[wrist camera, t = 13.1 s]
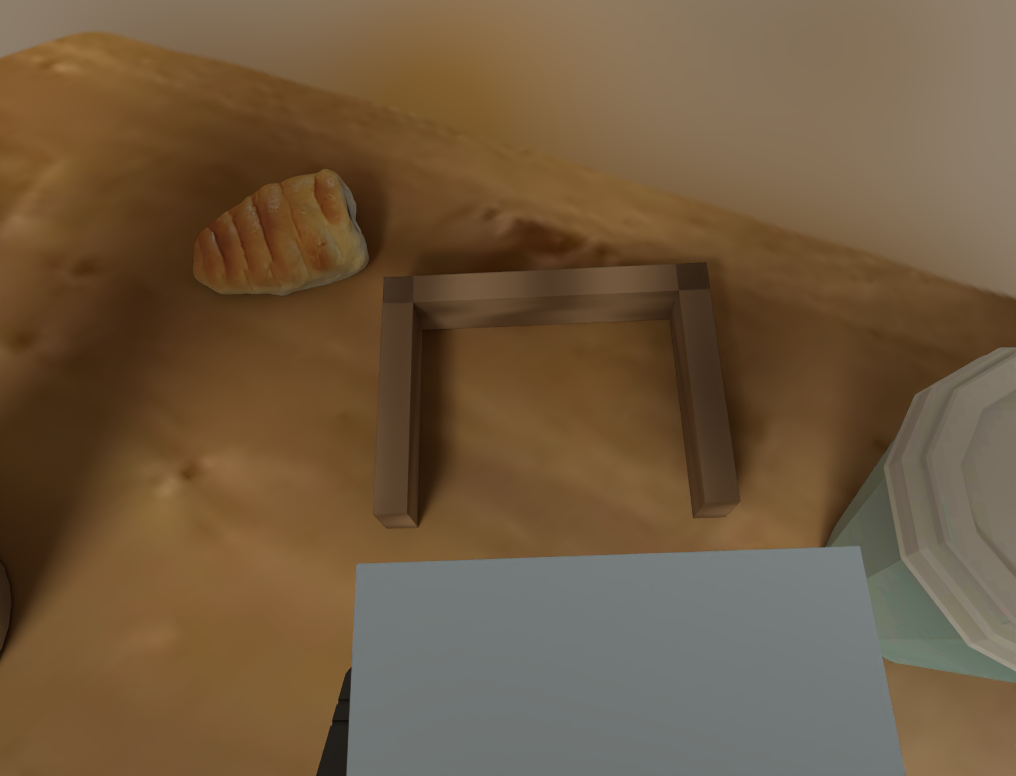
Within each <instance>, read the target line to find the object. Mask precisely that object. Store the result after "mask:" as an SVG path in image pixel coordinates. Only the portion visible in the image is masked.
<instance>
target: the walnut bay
mask: <svg viewBox="0 0 1016 776" xmlns="http://www.w3.org/2000/svg"><path fill="white" fill-rule="evenodd" d="M664 319H670V325H671V333H672V342H673V350H674V359H675V367H676V376H677V384H678V393H679V401H680V410H681V419H682V427H683V436H684V444H685V453H686V461H687V470H688V478H689V487H690V495H691V504H692V512H693V518H711V517H726V516H727V515H728V514H729V513H730V512H731V511H732V510H733V509H734V507H735V506H736V505H737V504H738V503H739V502H740V496H739V489H738V482H737V475H736V468H735V461H734V454H733V447H732V440H731V433H730V426H729V419H728V412H727V405H726V398H725V391H724V384H723V377H722V370H721V363H720V356H719V349H718V342H717V335H716V328H715V321H714V314H713V307H712V300H711V293H710V286H709V278H708V271H707V264H706V263H685V264H664V265H642V266H620V267H598V268H577V269H555V270H533V271H512V272H490V273H468V274H446V275H425V276H403V277H384V286H383V308H382V329H381V351H380V373H379V395H378V417H377V439H376V461H375V483H374V505H373V514H374V516H375V517H376V518H377V519H378V520H379V521H380V522H381V523H382V524H383V525H384V526H385V527H386V528H414V527H418V497H419V453H420V409H421V365H422V330H434V329H457V328H480V327H503V326H526V325H549V324H572V323H595V322H618V321H641V320H664Z"/></svg>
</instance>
